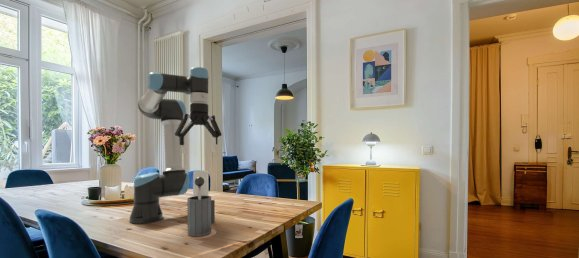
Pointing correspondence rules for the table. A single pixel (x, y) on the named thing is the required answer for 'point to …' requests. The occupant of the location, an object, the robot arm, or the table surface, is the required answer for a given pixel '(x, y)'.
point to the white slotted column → (204, 187)
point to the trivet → (185, 235)
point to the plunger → (199, 185)
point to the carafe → (200, 216)
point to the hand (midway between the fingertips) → (199, 152)
